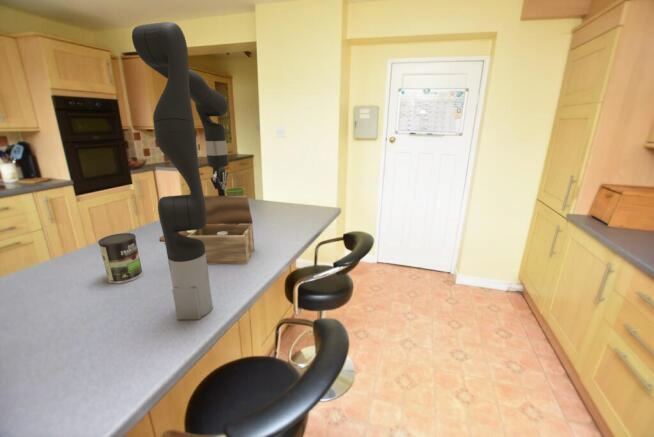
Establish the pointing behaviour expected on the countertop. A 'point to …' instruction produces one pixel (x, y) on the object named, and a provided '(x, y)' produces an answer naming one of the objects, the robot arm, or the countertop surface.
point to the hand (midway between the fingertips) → (222, 198)
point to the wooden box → (226, 243)
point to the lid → (227, 210)
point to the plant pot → (235, 191)
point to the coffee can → (121, 257)
